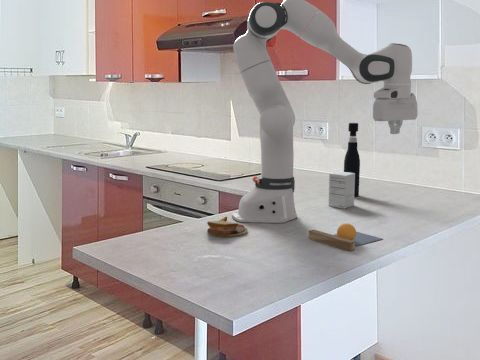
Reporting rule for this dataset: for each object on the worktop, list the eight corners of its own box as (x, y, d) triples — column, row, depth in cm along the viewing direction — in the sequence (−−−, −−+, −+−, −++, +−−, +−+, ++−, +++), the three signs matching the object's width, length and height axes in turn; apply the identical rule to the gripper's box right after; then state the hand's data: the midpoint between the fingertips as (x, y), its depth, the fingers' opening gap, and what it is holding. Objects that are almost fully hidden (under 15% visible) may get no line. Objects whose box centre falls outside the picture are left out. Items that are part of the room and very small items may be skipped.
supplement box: (337, 203, 216) (338, 170, 214) (354, 205, 211) (355, 172, 209) (327, 206, 210) (328, 173, 208) (345, 208, 206) (346, 175, 204)
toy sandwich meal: (256, 233, 173) (256, 218, 172) (224, 242, 163) (224, 226, 163) (228, 226, 182) (228, 212, 181) (196, 234, 172) (196, 219, 171)
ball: (343, 220, 160) (355, 220, 163) (330, 228, 163) (342, 227, 167) (350, 238, 158) (362, 237, 161) (337, 245, 162) (349, 244, 165)
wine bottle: (356, 194, 233) (359, 122, 228) (360, 197, 227) (363, 123, 222) (341, 194, 233) (343, 122, 228) (344, 197, 227) (347, 123, 222)
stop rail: (349, 251, 154) (350, 242, 153) (308, 238, 166) (308, 230, 166) (354, 249, 155) (354, 241, 154) (313, 237, 167) (313, 229, 167)
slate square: (356, 246, 158) (356, 245, 158) (325, 237, 168) (325, 236, 168) (382, 239, 166) (382, 238, 166) (351, 230, 175) (351, 230, 175)
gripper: (407, 92, 196) (405, 131, 199) (370, 93, 184) (368, 134, 186) (423, 92, 191) (420, 133, 194) (385, 93, 179) (383, 136, 181)
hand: (394, 133), depth 190 cm, fingers closed
